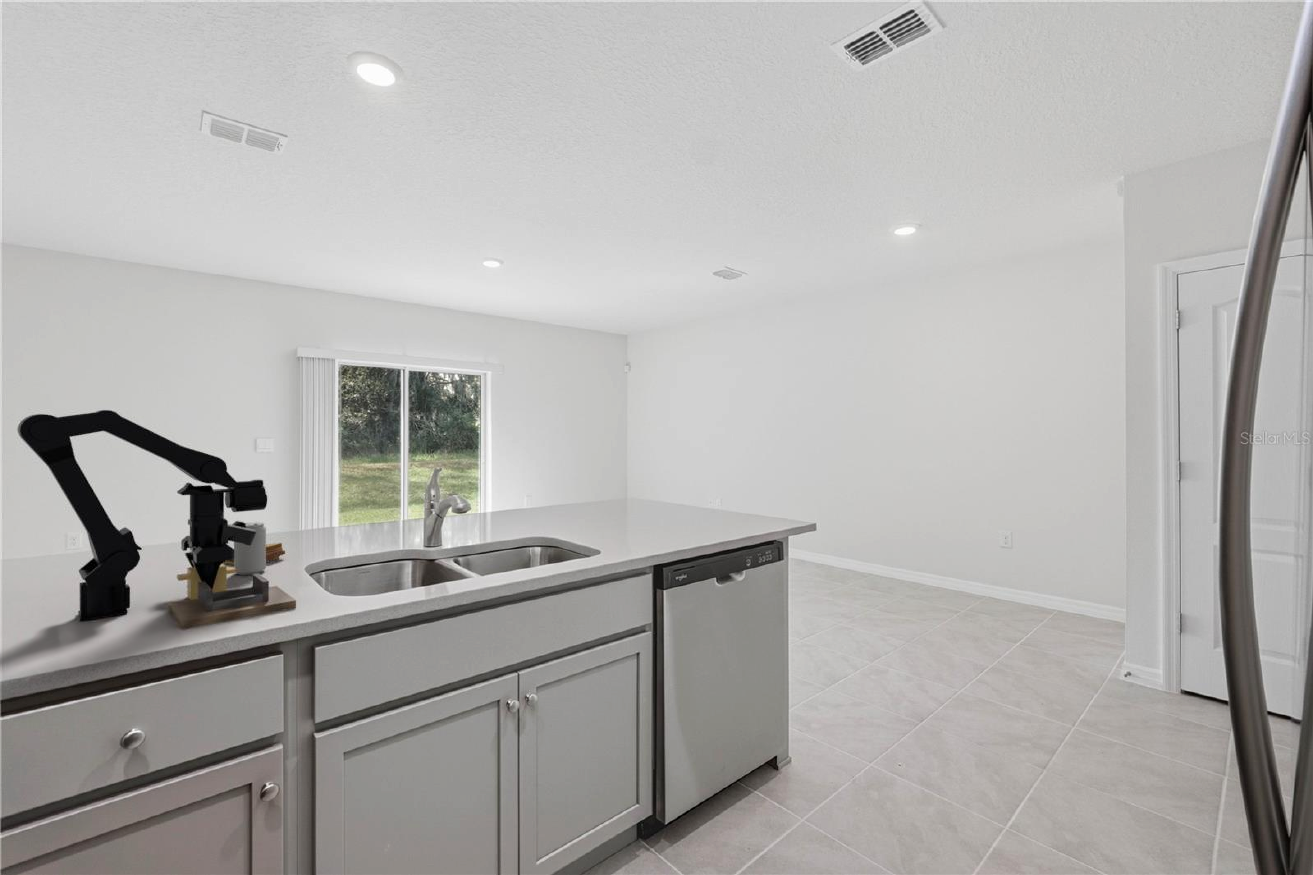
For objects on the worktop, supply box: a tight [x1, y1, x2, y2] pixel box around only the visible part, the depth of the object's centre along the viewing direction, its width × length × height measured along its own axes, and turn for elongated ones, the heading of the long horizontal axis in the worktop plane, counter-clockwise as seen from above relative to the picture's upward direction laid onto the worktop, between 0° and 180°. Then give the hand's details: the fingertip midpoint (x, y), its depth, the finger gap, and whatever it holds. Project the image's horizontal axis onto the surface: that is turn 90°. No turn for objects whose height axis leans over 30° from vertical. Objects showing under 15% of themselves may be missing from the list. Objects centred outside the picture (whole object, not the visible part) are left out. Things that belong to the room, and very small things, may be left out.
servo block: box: [176, 563, 237, 600], centre depth 123 cm, size 10×4×6 cm, turn 137°
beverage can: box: [233, 521, 267, 576], centre depth 142 cm, size 6×6×12 cm
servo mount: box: [168, 573, 297, 630], centre depth 115 cm, size 18×14×6 cm
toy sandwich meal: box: [224, 542, 286, 566], centre depth 154 cm, size 12×14×5 cm
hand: (206, 588), depth 123 cm, fingers closed on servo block, 4 cm apart
